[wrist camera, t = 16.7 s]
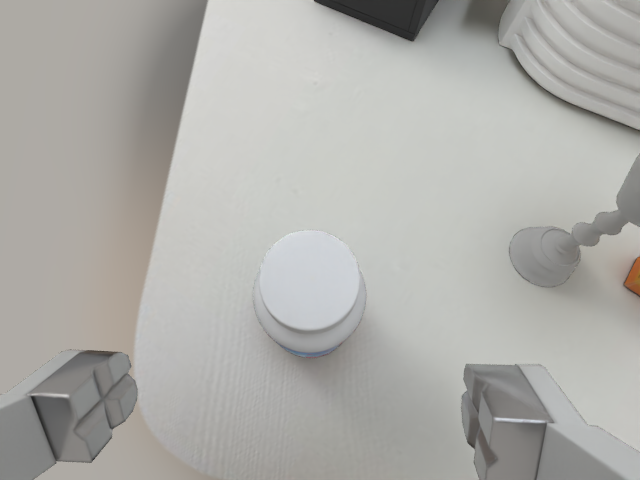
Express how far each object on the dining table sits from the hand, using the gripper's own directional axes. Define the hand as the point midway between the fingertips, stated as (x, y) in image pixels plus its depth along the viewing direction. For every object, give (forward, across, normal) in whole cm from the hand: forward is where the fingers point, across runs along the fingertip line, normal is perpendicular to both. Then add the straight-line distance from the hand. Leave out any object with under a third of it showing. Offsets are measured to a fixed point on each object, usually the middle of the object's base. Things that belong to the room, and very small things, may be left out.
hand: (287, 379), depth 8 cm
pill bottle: (+16, +2, +8) cm, 18 cm away
